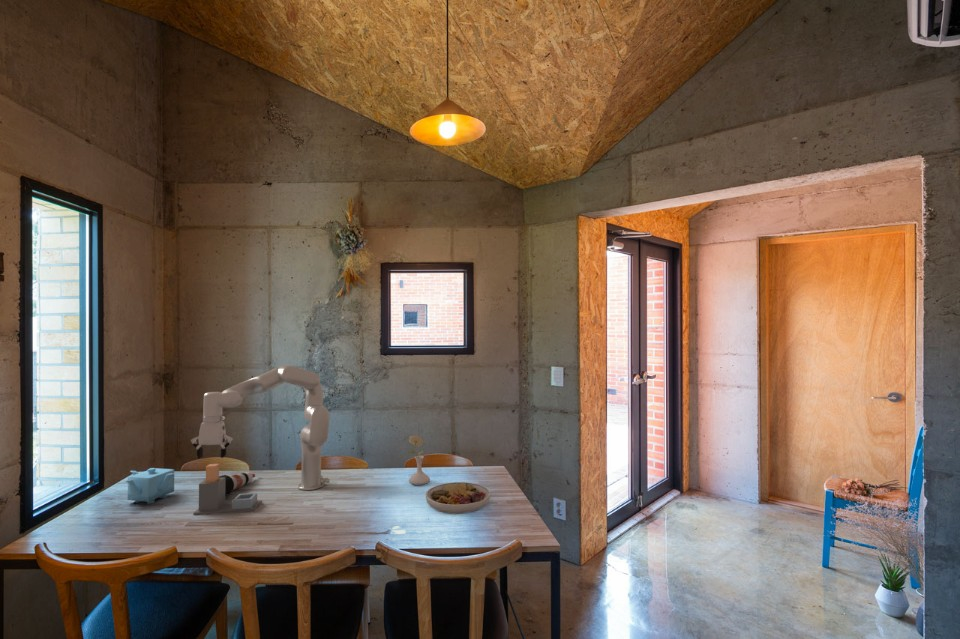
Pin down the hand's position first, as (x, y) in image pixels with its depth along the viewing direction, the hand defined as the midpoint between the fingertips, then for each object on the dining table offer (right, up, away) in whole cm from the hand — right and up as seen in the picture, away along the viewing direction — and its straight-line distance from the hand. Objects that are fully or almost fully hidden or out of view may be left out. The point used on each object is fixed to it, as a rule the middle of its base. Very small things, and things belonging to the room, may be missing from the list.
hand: (211, 457), depth 207 cm
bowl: (+112, -24, +6) cm, 114 cm away
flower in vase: (+89, -24, +34) cm, 99 cm away
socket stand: (+7, -24, +1) cm, 25 cm away
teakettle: (-37, -24, +12) cm, 46 cm away
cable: (-3, -25, +24) cm, 34 cm away
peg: (0, -14, 0) cm, 14 cm away
